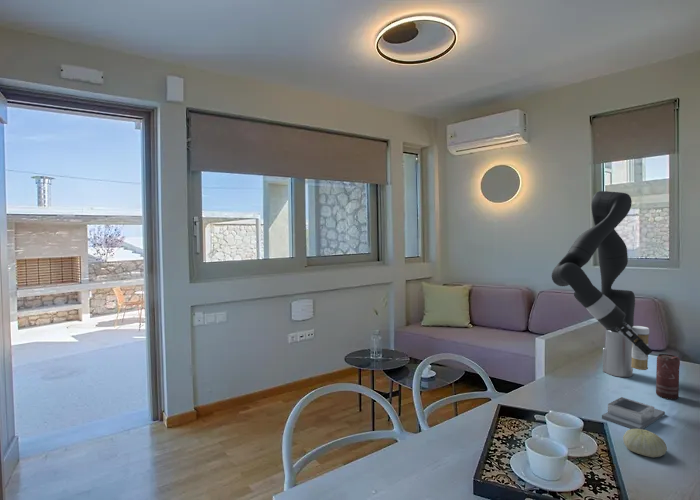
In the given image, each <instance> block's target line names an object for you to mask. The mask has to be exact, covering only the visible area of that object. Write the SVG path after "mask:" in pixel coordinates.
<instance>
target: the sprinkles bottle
mask: <svg viewBox="0 0 700 500" xmlns="http://www.w3.org/2000/svg"><path fill="white" fill-rule="evenodd" d="M632 329H633V330H634V331H635V332H636V333H637V334H638V337H639V338H640V339H642V340H643V342H644V343H645V344H646V345H647V346H648V347H649V346H650V345H649V336H650V328H649V327H647V326H641V325H633V327H632ZM638 340H639V339H638V338H637V339H635V340H634V342H637V341H638ZM649 348H650V347H649ZM648 360H649V355H646V354H645V353H644V352H642V351H641V350H640V349H639V348H638V347H637V346H635V344H634V343H633V342H632V365H631V367H632V368H633V369H635V370H638V371H647V370H648V369H649V367H648V366H649V364H648V362H649V361H648Z"/></svg>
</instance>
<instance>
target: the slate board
mask: <svg viewBox="0 0 700 500" xmlns="http://www.w3.org/2000/svg"><path fill="white" fill-rule="evenodd" d="M665 415H666V412H665V411H664V410H660V409H657V408H655V407H654V417H653V418H651V419H649V420H648V421H646V422H645V423H643V424H642V425H640V424H637V423H634V422H631V421H628V420H625V419H622V418H619V417H616V416H613V415H610V414H608V411H607V412H604V413H603V414H602V415H601V419H602V420H606V421H609V422H611V423H614V424H616V425H621V426H622V427H625V428H628V429H643V430H645V428H647V427H648V426H650V425H651V424H653V423H655V422H656V421H657V420H659V419H660V418H662V417H664V416H665Z"/></svg>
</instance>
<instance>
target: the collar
mask: <svg viewBox="0 0 700 500" xmlns="http://www.w3.org/2000/svg"><path fill="white" fill-rule="evenodd" d="M654 408H655V406H653V405H649V404H647V403H646V404H645V403H643V402H639V401H635V400H633V399H629V398H626V397H622V396H621V397H618V398H617V399H615V400H613V401H611V402H609V403H607V412H608V414H610V415H613V416H616V417H619V418H622V419H625V420H628V421H631V422H634V423H637V424H640V425H642V424H643V423H645V422H646V421H648V420H649V419H651V418H653V417H654Z"/></svg>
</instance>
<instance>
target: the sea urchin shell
mask: <svg viewBox="0 0 700 500" xmlns="http://www.w3.org/2000/svg"><path fill="white" fill-rule="evenodd" d="M622 439H623V444H624V446H625V447H626V448H627V450H629V451H630V452H632V453H636V454H637V455H641V456H643V457H649V458H659V457H662V456H664V455H666V453H667V450H668V447H667V444H666V442H665V441H664V439H662V438H661V437H660V436H659V435H658V434H656V433H655V432H652V431H649V430H647V429H631V428H629V429H627V430H626V431H625V433H624V434H623V436H622Z"/></svg>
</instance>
